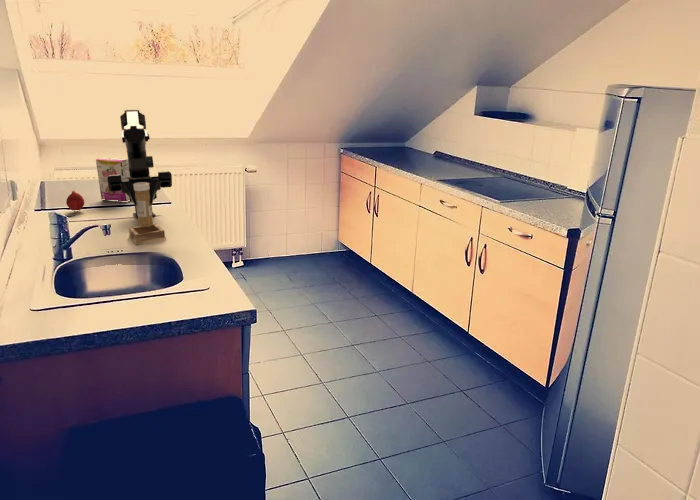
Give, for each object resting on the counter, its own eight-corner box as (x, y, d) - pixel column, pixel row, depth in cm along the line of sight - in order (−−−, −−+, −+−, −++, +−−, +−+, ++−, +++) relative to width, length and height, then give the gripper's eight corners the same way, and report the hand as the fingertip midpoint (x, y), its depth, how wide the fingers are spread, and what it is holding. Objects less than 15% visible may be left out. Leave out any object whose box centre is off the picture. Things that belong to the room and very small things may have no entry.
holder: (129, 236, 181) (127, 227, 180) (157, 232, 186) (156, 223, 185) (136, 244, 174) (135, 235, 173) (166, 239, 179) (165, 230, 178)
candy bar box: (100, 201, 220) (94, 159, 214) (108, 198, 225) (103, 156, 219) (126, 203, 218) (121, 160, 212) (134, 200, 222) (129, 158, 217)
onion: (89, 211, 207) (85, 190, 205) (74, 215, 203) (70, 193, 200) (79, 208, 210) (76, 187, 208) (64, 212, 206) (61, 191, 203)
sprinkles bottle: (156, 224, 179) (152, 183, 175) (144, 228, 176) (139, 185, 171) (147, 221, 182) (142, 180, 177) (135, 225, 178) (130, 183, 174)
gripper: (103, 149, 171) (108, 194, 165) (168, 145, 177) (175, 188, 171) (107, 169, 180) (111, 212, 175) (168, 165, 187) (175, 206, 181)
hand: (143, 204), depth 175 cm, fingers closed on sprinkles bottle, 4 cm apart
